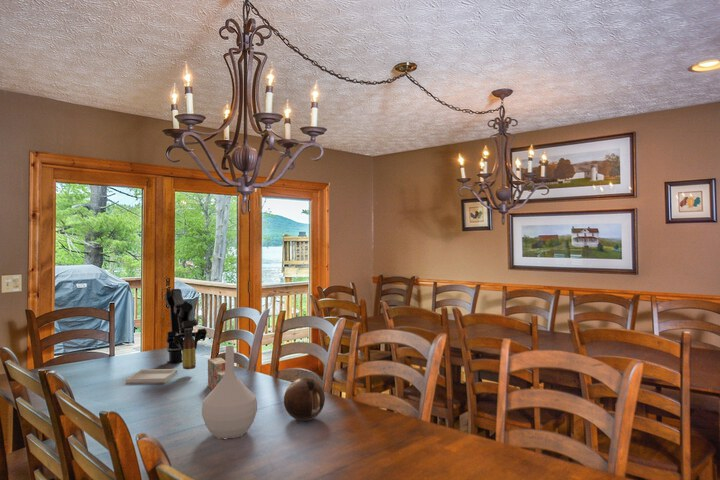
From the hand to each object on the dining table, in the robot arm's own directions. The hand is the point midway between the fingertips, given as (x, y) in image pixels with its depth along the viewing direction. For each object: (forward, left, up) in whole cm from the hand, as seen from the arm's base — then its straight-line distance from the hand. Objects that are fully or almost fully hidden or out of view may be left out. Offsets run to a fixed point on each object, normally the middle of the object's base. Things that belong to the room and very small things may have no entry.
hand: (189, 349), depth 244 cm
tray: (-13, -11, -13) cm, 22 cm away
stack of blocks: (+30, -10, -14) cm, 34 cm away
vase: (+70, -48, -13) cm, 86 cm away
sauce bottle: (-1, +1, -10) cm, 10 cm away
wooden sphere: (+85, -25, -13) cm, 89 cm away
